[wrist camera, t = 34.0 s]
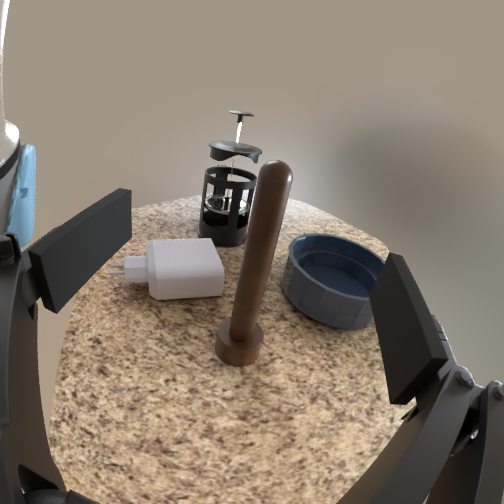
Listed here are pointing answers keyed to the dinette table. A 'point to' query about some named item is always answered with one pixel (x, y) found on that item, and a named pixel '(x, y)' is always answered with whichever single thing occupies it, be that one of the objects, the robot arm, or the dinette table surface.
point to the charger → (177, 269)
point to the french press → (222, 205)
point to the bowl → (331, 279)
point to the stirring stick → (255, 266)
